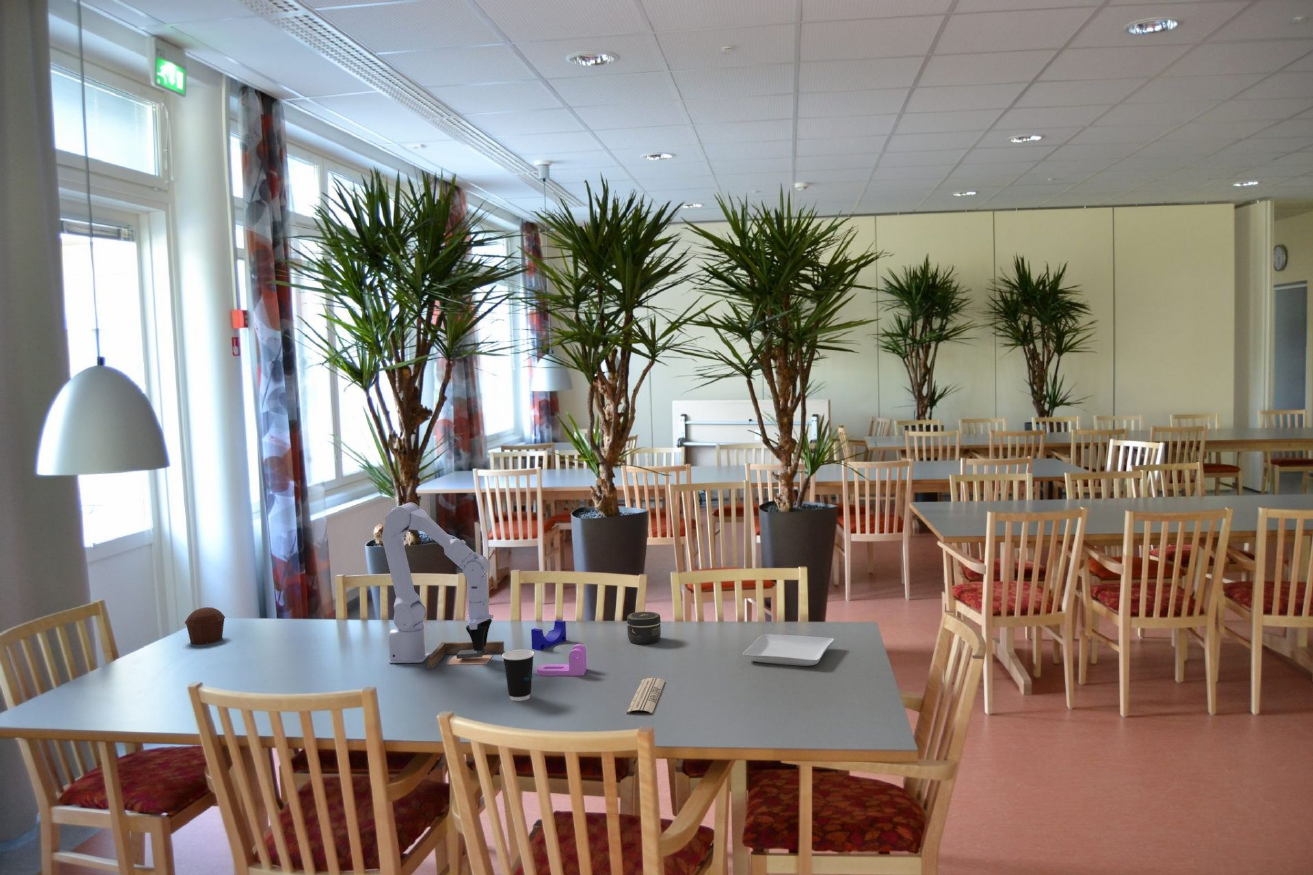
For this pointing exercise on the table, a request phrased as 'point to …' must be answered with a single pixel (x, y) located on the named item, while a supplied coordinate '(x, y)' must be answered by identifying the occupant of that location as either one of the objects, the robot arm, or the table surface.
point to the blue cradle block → (549, 636)
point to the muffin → (205, 625)
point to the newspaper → (647, 695)
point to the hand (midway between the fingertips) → (480, 648)
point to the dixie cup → (519, 673)
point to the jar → (643, 627)
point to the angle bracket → (470, 653)
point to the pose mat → (470, 660)
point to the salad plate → (788, 649)
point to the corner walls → (457, 646)
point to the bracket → (573, 668)
